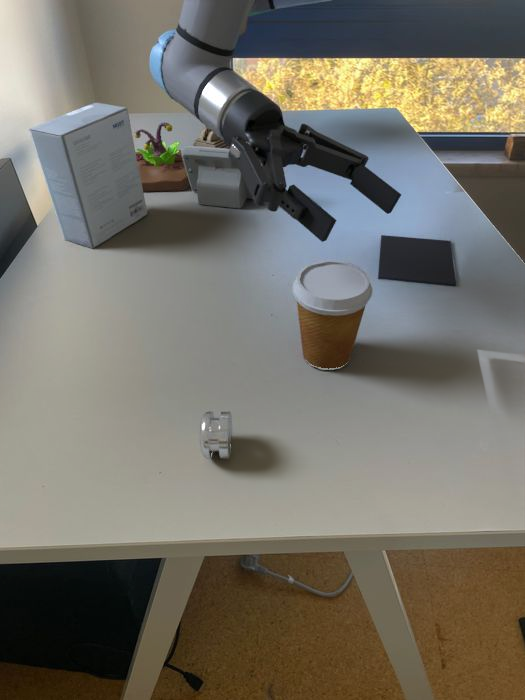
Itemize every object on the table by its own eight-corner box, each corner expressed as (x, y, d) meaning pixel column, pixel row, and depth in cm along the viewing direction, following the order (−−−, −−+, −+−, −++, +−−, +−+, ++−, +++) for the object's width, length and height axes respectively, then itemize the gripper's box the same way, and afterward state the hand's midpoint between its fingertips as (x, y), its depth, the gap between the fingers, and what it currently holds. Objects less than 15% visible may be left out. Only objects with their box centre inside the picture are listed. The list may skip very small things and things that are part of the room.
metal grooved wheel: (229, 468, 55) (226, 437, 52) (201, 467, 55) (197, 437, 52) (232, 432, 59) (230, 401, 56) (206, 431, 59) (202, 401, 56)
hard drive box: (119, 206, 104) (97, 101, 91) (149, 215, 101) (130, 107, 88) (61, 240, 94) (27, 126, 81) (92, 250, 91) (62, 134, 78)
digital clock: (269, 197, 106) (268, 145, 99) (248, 215, 100) (246, 161, 93) (202, 184, 112) (197, 134, 105) (179, 200, 106) (172, 148, 99)
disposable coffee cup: (363, 336, 72) (374, 261, 64) (361, 383, 64) (373, 305, 57) (295, 329, 73) (297, 255, 65) (286, 375, 66) (287, 298, 58)
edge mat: (450, 242, 91) (450, 240, 91) (455, 286, 80) (456, 284, 80) (381, 236, 93) (381, 234, 93) (378, 278, 83) (378, 276, 82)
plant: (193, 195, 108) (187, 140, 100) (106, 190, 111) (94, 136, 103) (216, 160, 123) (213, 110, 115) (139, 156, 125) (130, 107, 118)
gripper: (294, 132, 76) (402, 218, 70) (159, 158, 60) (283, 272, 54) (313, 82, 71) (432, 170, 64) (170, 96, 55) (309, 214, 49)
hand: (364, 217), depth 59 cm, fingers open, 13 cm apart
